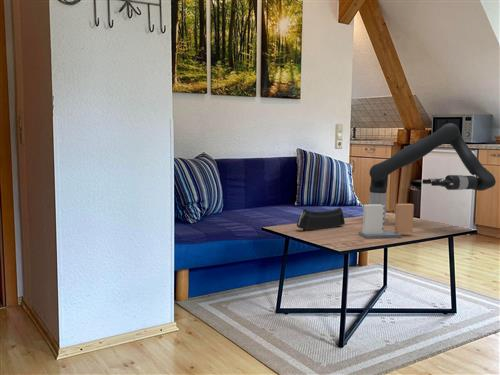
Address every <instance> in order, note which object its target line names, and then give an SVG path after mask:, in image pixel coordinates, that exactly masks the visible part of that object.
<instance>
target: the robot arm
mask: <svg viewBox="0 0 500 375" xmlns="http://www.w3.org/2000/svg"><path fill="white" fill-rule="evenodd" d="M446 143H448V144H449V145H450V146H451V147H452V148H453V149H454V151H455V152H456V154H457V156H458V157H459V159H460V161H461V162H462V164H463V166H464V168H465V169H466V170H467V171H468V173H469V174H470V175H464V174H448V175H446V176H445V178H441V177H440V178H428V179H422V184H423V185H431V187H432V186H433V187H435V186H437V187H438V186H439V187H443V188H445V189H446V190H448V191H458V190H459V191H461V190H473V191H479V192H480V191H486V190H488V189H490V188H493V187H495V185H496V183H497V182H496V181H497V180H496V177H495V176H494V175H493V173H491V172H490V171H489V170H488V169H487V168H485V167H484V165H483V164H482V163H481V161H480V160H479V159H478V157H477V156H476V155H475V153H474V152H473V151H472V150H471V149H470V147H469V146H468V145H467V143H466V141H465V140H464V139H463V136H462V133H461V132H460V129H459V127H458V126H457V125H456V123H452V122H450V123H449V122H448V123H445V124H444V125H442V126H441V127H440V128H438V129H437V130H435V131H434V132H433V133H431V134H429V135H428V136H425V137H423V138H420V139H418V140H416V141H414V142H412V143H410V144H409V145H407V146H405V147H404V148H402V149H400V150H399V151H398V152H396V153H395V154H393V155H392V156H391V157H389V158H387V159H386V160H383V161H380V162H379V163H375V164H373V165H372V166H371V167H370V169H369V177H370V186H369V193H368V195H369V196H368V197H369V198H368V199H369V200H368V205H374V204H383V205H385V206H384V207H385V208H384V224H385V223H386V211H387V210H386V209H387V190H388V184H389V182H388V181H389V175H390V174H392V173H394V172H395V171H397V170H399V169H401V168H403V167H406V166H409V165H410V164H411V165H412V164H413V163H415V162H417V161H419V160H420V159H423V158H424V157H426V156H427V155H428V154H429V153H430V152H432V151H434V149H437V148H438V147H440V146H442V145H445V144H446ZM476 176H477V177H476Z"/></svg>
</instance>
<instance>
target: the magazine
mask: <svg viewBox="0 0 500 375" xmlns="http://www.w3.org/2000/svg"><path fill="white" fill-rule="evenodd" d="M345 222H346V221H345V217H344V212H343V210H342V207H340V206H339V207H337V208H335V209H331V210H324V211H312V210H308V209H303V210H302V212H301V213H300V215H299V216H298V219H297V223H296V227H297V228H298V229H302V231H303V232H305V231H308V230H310V231H317V230H319V231H320V230H328V229H333V228H337V227H340V226H344V225H345V224H346V223H345Z"/></svg>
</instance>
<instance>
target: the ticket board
mask: <svg viewBox="0 0 500 375" xmlns="http://www.w3.org/2000/svg"><path fill="white" fill-rule="evenodd" d="M384 206H385V205H383V204H374V205H369V204H363V210H362V211H363V212H362V228H361V229H362V230H358V233H357V234H358V235H359V236H361V237H362V238H365V239H367V240H369V239H372V240H373V239H401V238H402V233H396V232H394V231H395V230H394V231H393V230H384V224H385V223H384V208H385V207H384Z"/></svg>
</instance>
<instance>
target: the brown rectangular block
mask: <svg viewBox="0 0 500 375" xmlns="http://www.w3.org/2000/svg"><path fill="white" fill-rule="evenodd" d="M414 209H415V204H413V203H396V204H395V213H394V214H395V215H394V232H396V233H399V234H405V233H406V234H410V233H411V234H413V229H414V226H413V225H414V224H413V223H414Z"/></svg>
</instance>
